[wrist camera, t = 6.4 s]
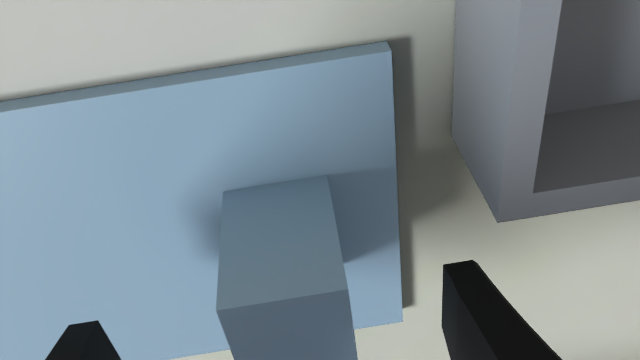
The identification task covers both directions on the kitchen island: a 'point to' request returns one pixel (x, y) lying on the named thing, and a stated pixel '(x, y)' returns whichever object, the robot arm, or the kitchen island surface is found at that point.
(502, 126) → the tub
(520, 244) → the kitchen island surface
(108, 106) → the lid
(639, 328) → the kitchen island surface
